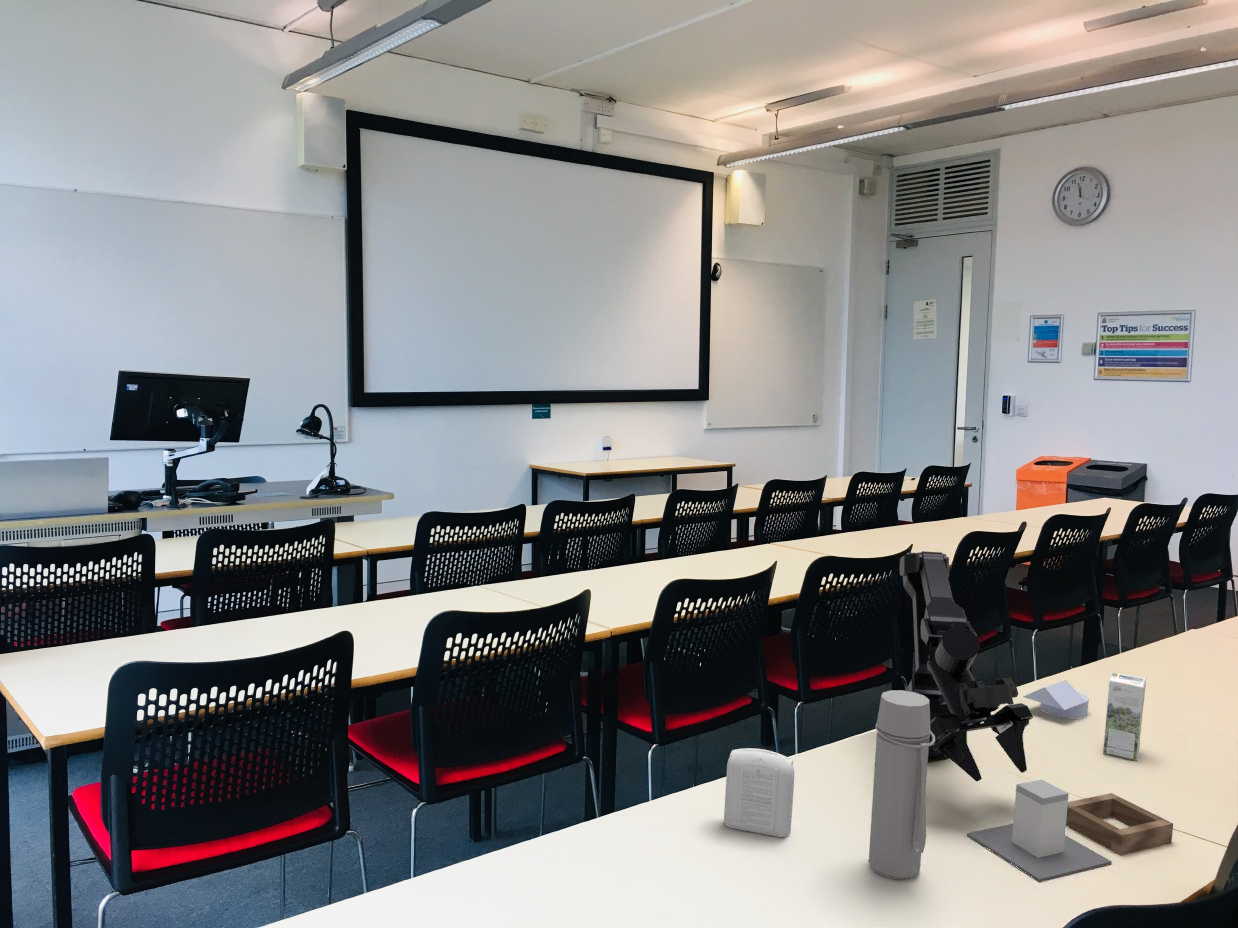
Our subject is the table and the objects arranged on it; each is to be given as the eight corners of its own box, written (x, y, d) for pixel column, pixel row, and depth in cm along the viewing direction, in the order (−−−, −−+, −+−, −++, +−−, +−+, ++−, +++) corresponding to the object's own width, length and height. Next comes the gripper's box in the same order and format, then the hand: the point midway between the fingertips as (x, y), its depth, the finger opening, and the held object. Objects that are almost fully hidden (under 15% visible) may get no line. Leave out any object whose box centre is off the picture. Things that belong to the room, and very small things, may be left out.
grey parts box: (1038, 857, 143) (1043, 798, 142) (1011, 841, 147) (1016, 784, 146) (1063, 851, 145) (1068, 793, 144) (1036, 836, 149) (1041, 779, 148)
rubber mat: (1039, 881, 137) (1039, 878, 137) (966, 835, 150) (966, 832, 150) (1111, 863, 142) (1111, 861, 142) (1035, 820, 155) (1035, 818, 155)
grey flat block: (793, 827, 150) (797, 750, 149) (789, 840, 146) (793, 760, 145) (726, 816, 153) (730, 740, 152) (721, 828, 149) (724, 750, 148)
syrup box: (1139, 751, 185) (1146, 676, 183) (1136, 762, 180) (1143, 685, 178) (1106, 744, 188) (1112, 670, 186) (1102, 754, 183) (1108, 678, 181)
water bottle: (855, 861, 141) (865, 692, 138) (899, 851, 144) (910, 686, 141) (897, 894, 132) (909, 714, 130) (943, 883, 136) (955, 708, 133)
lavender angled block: (1063, 726, 197) (1095, 713, 205) (1065, 693, 196) (1098, 681, 204) (1021, 712, 204) (1054, 700, 212) (1023, 680, 203) (1056, 670, 211)
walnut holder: (1119, 854, 145) (1121, 835, 145) (1059, 821, 155) (1061, 803, 155) (1171, 842, 150) (1173, 823, 149) (1109, 810, 160) (1111, 792, 159)
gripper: (938, 666, 151) (985, 763, 143) (1028, 654, 159) (1079, 746, 150) (900, 698, 159) (943, 792, 151) (989, 686, 167) (1034, 774, 158)
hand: (1002, 775), depth 152 cm, fingers open, 9 cm apart
